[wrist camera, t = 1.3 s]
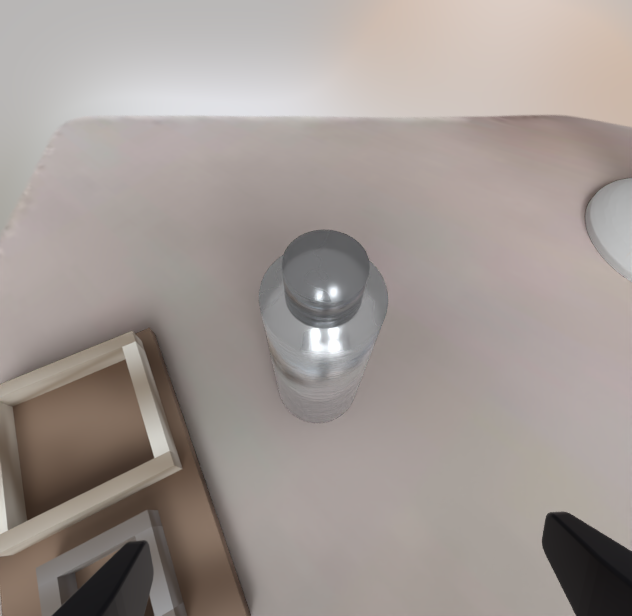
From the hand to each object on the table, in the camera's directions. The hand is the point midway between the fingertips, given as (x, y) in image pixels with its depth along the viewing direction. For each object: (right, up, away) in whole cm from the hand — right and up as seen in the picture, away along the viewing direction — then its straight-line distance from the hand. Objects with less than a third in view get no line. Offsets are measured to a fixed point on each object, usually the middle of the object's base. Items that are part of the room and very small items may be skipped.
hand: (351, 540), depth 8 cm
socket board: (-12, -5, +12) cm, 18 cm away
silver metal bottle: (-1, 0, +16) cm, 16 cm away
